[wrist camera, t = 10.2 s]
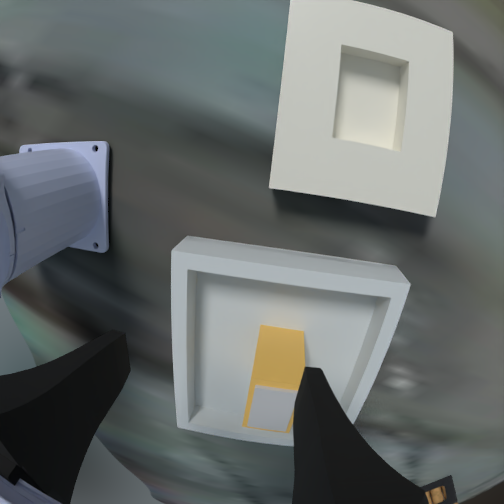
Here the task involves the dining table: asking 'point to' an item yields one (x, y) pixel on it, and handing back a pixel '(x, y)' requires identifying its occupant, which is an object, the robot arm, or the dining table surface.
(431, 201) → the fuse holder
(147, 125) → the dining table surface
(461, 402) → the dining table surface
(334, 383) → the parts tray
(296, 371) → the block
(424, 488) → the ammunition clip
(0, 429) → the robot arm
